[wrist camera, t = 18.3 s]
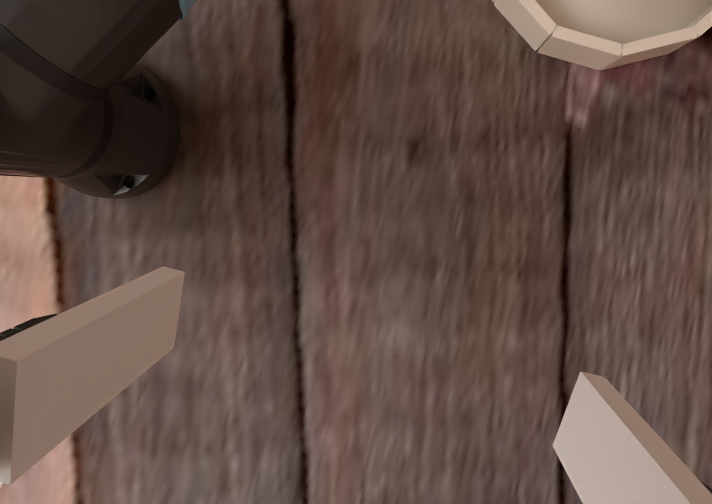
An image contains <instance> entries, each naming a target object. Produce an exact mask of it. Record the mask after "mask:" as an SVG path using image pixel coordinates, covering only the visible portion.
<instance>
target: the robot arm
mask: <svg viewBox="0 0 712 504" xmlns="http://www.w3.org/2000/svg"><path fill="white" fill-rule="evenodd" d="M196 1H197V0H0V175H4V176H25V177H46V178H53V179H55V180H57V181H59V182H61V183H63V184H65V185H67V186H69V187H71V188H73V189H75V190H77V191H79V192H81V193H84V194H87V195H91V196H95V197H102V198H125V197H131V196H135V195H138V194H140V193H142V192H145V191H146V190H148V189H150V188H151V187H153V186H154V185H155V184H156V183H157V182H158V181H159V180H160V179H161V178H162V177H163V176H164V175H165V173H166V172H167V170H168V169H169V167H170V165H171V164H172V161H173V159H174V156H175V154H176V150H177V146H178V139H179V124H178V117H177V113H176V109H175V106H174V103H173V101H172V99H171V97H170V95H169V93H168V91H167V90H166V88H165V87H164V85H163V84H162V83H161V82H160V81H159V79H158V78H157V77H156V76H154V75H153V74H152V73H151V72H150V71H148V70H147V69H145V68H144V67H142V66H140V65H138V64H136V63H137V62H138V61H139V60H140V59H141V58H142V57H143V56H144V55H145V53H146V52H147V51H148V50H149V49H150V48H151V47H152V46H153V45H154V44H155V43H156V42H157V41H158V40H159V39H160V38H161V37H162V36H163V35H164V34H165V33H166V32H167V31H168V30H169V29H170V28H171V27H172V26H173V25H174V24H175V23H176V22H177V21H178V20H181V21H182V20H184V19H185V18H186V16H187V13H188V10H189V8H190V7H191V6H192V5H193V4H194V3H195V2H196ZM184 274H185V272H183V271H179V270H175V269H171V268H167V267H161V268H158V269H156V270H154V271H152V272H150V273H148V274H145V275H143V276H141V277H139V278H137V279H135V280H132V281H130V282H128V283H126V284H124V285H121V286H119V287H117V288H115V289H113V290H111V291H108V292H106V293H104V294H102V295H100V296H98V297H95V298H93V299H91V300H89V301H87V302H85V303H82V304H80V305H78V306H76V307H74V308H72V309H69V310H67V311H65V312H63V313H61V314H59V315H58V314H52V315H48V316H43V317H38V318H34V319H31V320H29V321H26V322H24V323H22V324H19V325H17V326H15V327H14V329H11V328H10V329H8V330H6V331H4V332H1V333H0V482H2V483H6V484H12V483H13V482H14V481H15V480H16V479H18V478H19V477H20V476H21V475H22V474H24V473H25V472H26V471H27V470H28V469H30V468H31V467H32V466H33V465H34V464H35V463H37V462H38V461H39V460H40V459H41V458H43V457H44V456H45V455H46V454H47V453H49V452H50V451H51V450H52V449H53V448H55V447H56V446H57V445H58V444H59V443H61V442H62V441H63V440H64V439H65V438H66V437H68V436H69V435H70V434H71V433H72V432H74V431H75V430H76V429H77V428H78V427H80V426H81V425H82V424H83V423H84V422H86V421H87V420H88V419H89V418H90V417H92V416H93V415H94V414H95V413H96V412H98V411H99V410H100V409H101V408H102V407H103V406H105V405H106V404H107V403H108V402H109V401H111V400H112V399H113V398H114V397H115V396H117V395H118V394H119V393H120V392H121V391H123V390H124V389H125V388H126V387H127V386H129V385H130V384H131V383H132V382H133V381H134V380H136V379H137V378H138V377H139V376H140V375H142V374H143V373H144V372H145V371H146V370H148V369H149V368H150V367H151V366H152V365H154V364H155V363H156V362H157V361H158V360H160V359H161V358H162V357H163V356H164V355H165V354H167V353H168V352H169V351H170V350H171V349H173V348H174V344H175V337H176V330H177V323H178V316H179V309H180V302H181V295H182V288H183V281H184ZM553 447H554V449H555V451H556V453H557V455H558V457H559V459H560V461H561V463H562V465H563V467H564V468H565V470H566V472H567V474H568V476H569V478H570V480H571V482H572V484H573V486H574V488H575V490H576V491H577V493H578V495H579V497H580V499H581V501H582V503H583V504H712V489H711V488H709V487H708V486H707V485H705V484H704V483H703V482H701V481H700V480H699V479H698V478H697V477H696V476H695V475H694V474H693V473H692V472H691V471H690V470H689V469H688V468H687V466H686V465H685V464H684V463H683V462H682V461H681V460H680V459H679V458H678V457H677V456H676V455H675V453H674V452H673V451H672V450H671V449H670V448H669V447H668V446H667V445H666V444H665V443H664V441H663V440H662V439H661V438H660V437H659V436H658V435H657V434H656V433H655V432H654V431H653V429H652V428H651V427H650V426H649V425H648V424H647V423H646V422H645V421H644V420H643V419H642V417H641V416H640V415H639V414H638V413H637V412H636V411H635V410H634V409H633V408H632V407H631V406H630V404H629V403H628V402H627V401H626V400H625V399H624V398H623V397H622V396H621V395H620V394H619V392H618V391H617V390H616V389H615V388H614V387H613V386H612V385H611V384H610V383H609V382H608V380H607V379H606V378H605V377H601V376H597V375H593V374H589V373H585V372H581V371H580V374H579V377H578V379H577V382H576V385H575V387H574V390H573V393H572V395H571V398H570V401H569V403H568V406H567V409H566V411H565V414H564V417H563V419H562V422H561V425H560V427H559V430H558V433H557V435H556V438H555V441H554V443H553Z"/></svg>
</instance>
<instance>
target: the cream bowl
mask: <svg viewBox="0 0 712 504" xmlns="http://www.w3.org/2000/svg"><path fill="white" fill-rule="evenodd" d="M492 2H495V3H494V6H495V7H496V8H497V9H498V10H499V11H500V12H501V14H502V15H503V16H504V17H505V18H506V19H507V20H508V21H509V23H510V24H511V25H512V26H513V27H514V28H515V29H516V30H517V32H518V33H519V34H520V35H521V36H522V37H523V38H524V39H525V40H526V42H527V43H528V44H529V45H530V46H531V47H532V48H533V49H534V51H536V50H537V49H538V48H539V49H538V52H537V53H540V54H544V55H547V56H551V57H554V58H558V59H561V60H564V61H568V62H571V63H575V64H578V65H582V66H585V67H589V68H592V69H596V70H600V69H601V70H605V69H609V68H613V67H617V66H621V65H625V64H629V63H634V62H638V61H642V60H646V59H650V58H654V57H658V56H662V55H666V54H669V53H671V52H673V51H675V50H676V49H678V48H680V47H682V46H683V45H685V44H687V43H689V42H691V41H692V40H694V39H696V38H698V37H700V36H701V35H702V34H703V33H704V32H705V31H707V30H708V29H709V28H710V27H711V26H712V0H492Z"/></svg>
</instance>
